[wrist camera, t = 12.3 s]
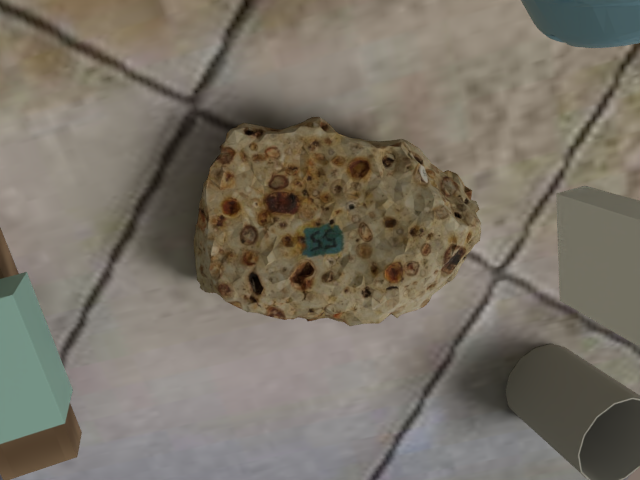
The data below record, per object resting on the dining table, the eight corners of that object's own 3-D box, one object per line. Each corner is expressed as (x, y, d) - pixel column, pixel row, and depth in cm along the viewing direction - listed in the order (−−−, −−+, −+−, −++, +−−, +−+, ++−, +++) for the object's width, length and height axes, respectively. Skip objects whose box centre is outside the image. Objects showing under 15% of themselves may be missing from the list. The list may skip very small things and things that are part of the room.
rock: (189, 306, 44) (185, 330, 34) (202, 123, 43) (201, 94, 34) (431, 316, 48) (489, 340, 38) (444, 150, 48) (506, 131, 38)
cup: (504, 426, 56) (575, 495, 47) (506, 355, 53) (581, 412, 44) (574, 406, 58) (654, 468, 49) (578, 336, 55) (664, 388, 46)
